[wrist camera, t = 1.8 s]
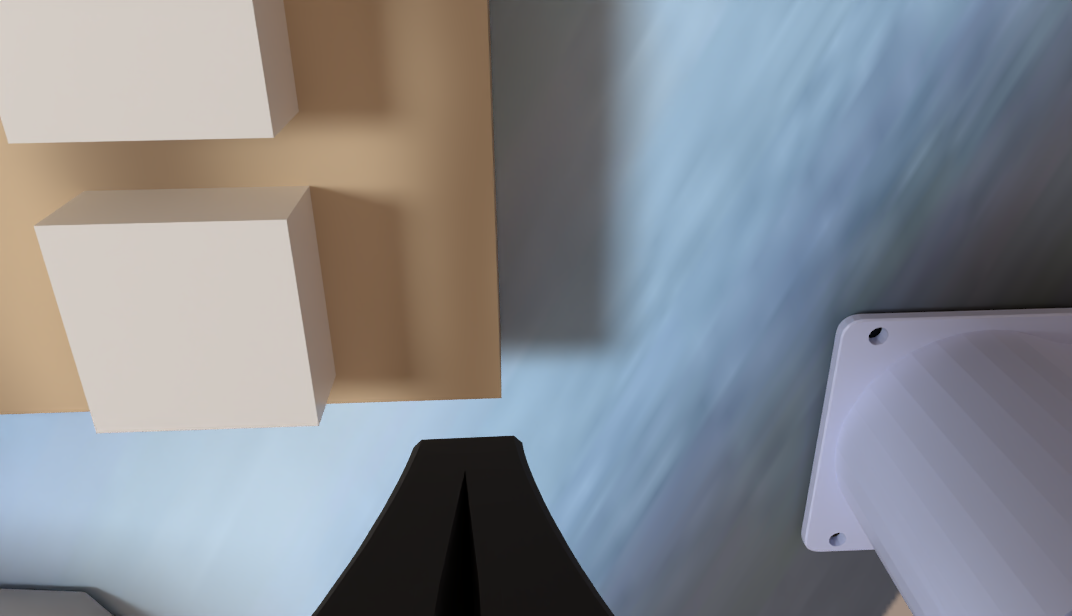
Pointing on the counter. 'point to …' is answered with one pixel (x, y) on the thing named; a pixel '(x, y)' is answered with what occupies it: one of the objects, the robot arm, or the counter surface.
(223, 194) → the tile
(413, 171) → the board
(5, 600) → the flask
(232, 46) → the tile
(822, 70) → the counter surface
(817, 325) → the counter surface
